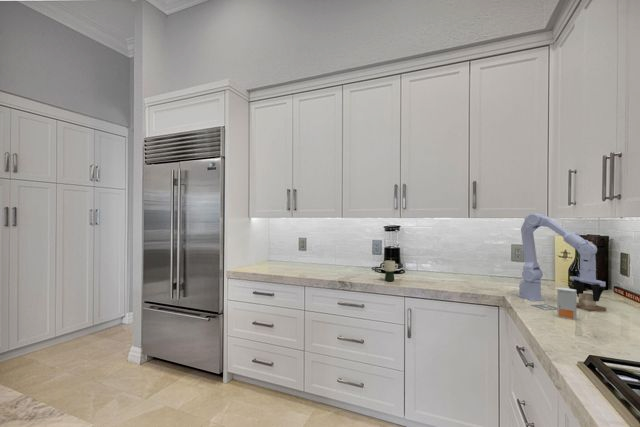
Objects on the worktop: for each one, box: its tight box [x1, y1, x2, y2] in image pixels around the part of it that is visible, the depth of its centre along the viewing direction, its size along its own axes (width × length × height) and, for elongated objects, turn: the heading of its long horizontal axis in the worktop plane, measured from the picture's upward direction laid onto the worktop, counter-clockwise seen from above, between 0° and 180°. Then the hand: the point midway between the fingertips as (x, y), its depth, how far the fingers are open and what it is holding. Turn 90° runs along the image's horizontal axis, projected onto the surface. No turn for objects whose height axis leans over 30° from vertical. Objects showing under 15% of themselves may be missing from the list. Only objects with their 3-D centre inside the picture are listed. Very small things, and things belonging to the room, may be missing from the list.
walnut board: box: [576, 302, 607, 313], centre depth 154 cm, size 9×9×2 cm
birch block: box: [578, 292, 597, 307], centre depth 154 cm, size 4×5×5 cm
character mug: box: [381, 260, 399, 282], centre depth 221 cm, size 11×7×13 cm, turn 91°
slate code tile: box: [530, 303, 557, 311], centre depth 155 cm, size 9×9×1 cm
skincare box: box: [556, 287, 577, 320], centre depth 140 cm, size 6×4×12 cm
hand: (588, 299), depth 154 cm, fingers open, 7 cm apart
